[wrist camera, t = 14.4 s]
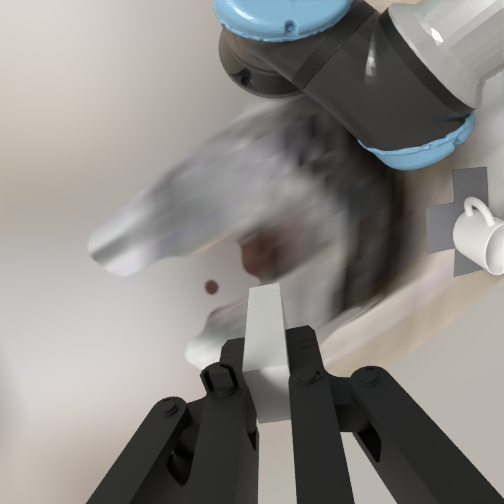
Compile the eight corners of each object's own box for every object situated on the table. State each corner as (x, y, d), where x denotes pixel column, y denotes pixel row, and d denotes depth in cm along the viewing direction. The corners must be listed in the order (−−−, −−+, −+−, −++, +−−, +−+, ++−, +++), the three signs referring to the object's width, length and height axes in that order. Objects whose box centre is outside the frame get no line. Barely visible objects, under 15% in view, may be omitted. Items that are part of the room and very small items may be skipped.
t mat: (421, 173, 45) (423, 173, 45) (485, 166, 44) (486, 166, 43) (425, 282, 51) (426, 283, 50) (484, 267, 50) (485, 268, 49)
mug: (438, 203, 46) (472, 217, 36) (472, 180, 44) (509, 190, 35) (458, 262, 49) (489, 285, 39) (489, 239, 47) (523, 257, 38)
